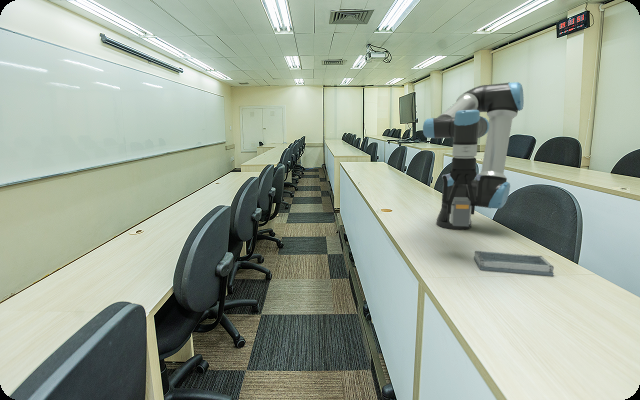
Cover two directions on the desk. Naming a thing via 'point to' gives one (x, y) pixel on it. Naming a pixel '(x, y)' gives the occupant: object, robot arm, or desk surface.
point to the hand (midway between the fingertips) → (459, 222)
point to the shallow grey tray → (513, 263)
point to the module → (461, 211)
